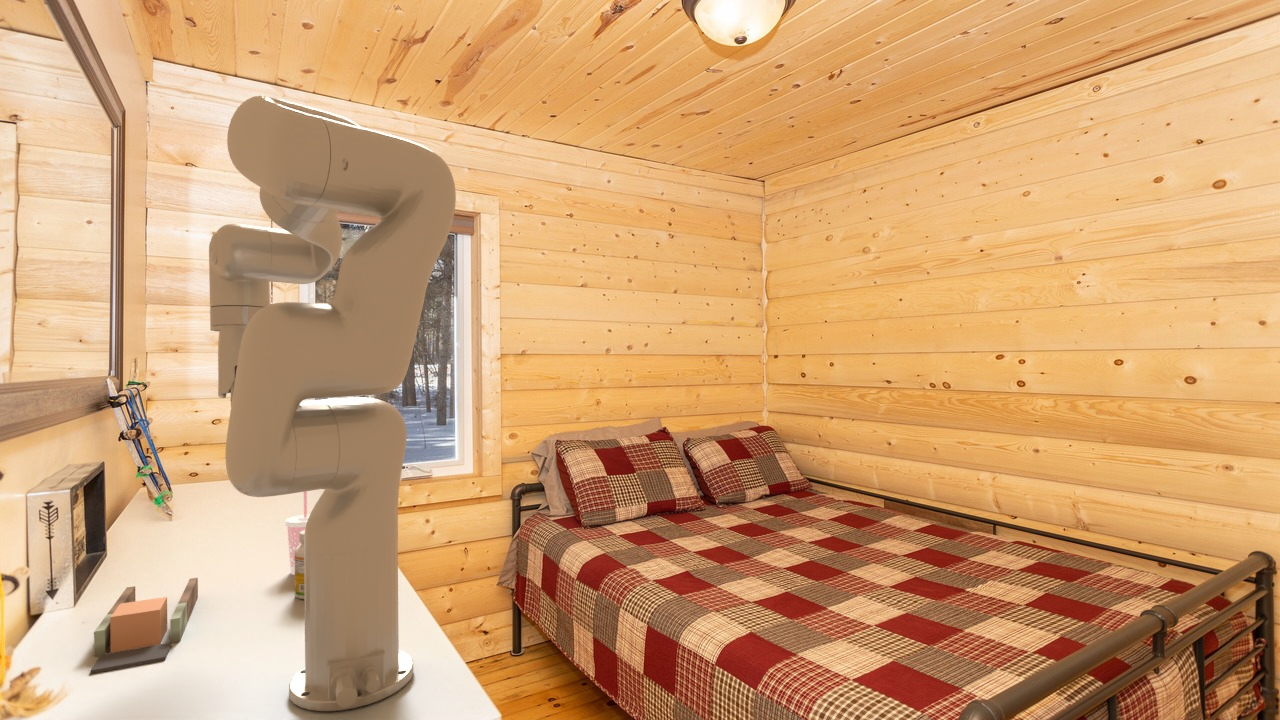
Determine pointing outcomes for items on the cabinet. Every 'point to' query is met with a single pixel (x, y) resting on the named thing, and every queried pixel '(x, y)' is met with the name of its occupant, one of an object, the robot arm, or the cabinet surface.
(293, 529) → the beverage cup
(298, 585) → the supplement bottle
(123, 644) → the block
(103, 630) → the pair of guide rails
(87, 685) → the cabinet surface
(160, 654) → the thin dark grey plate
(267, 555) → the cabinet surface
